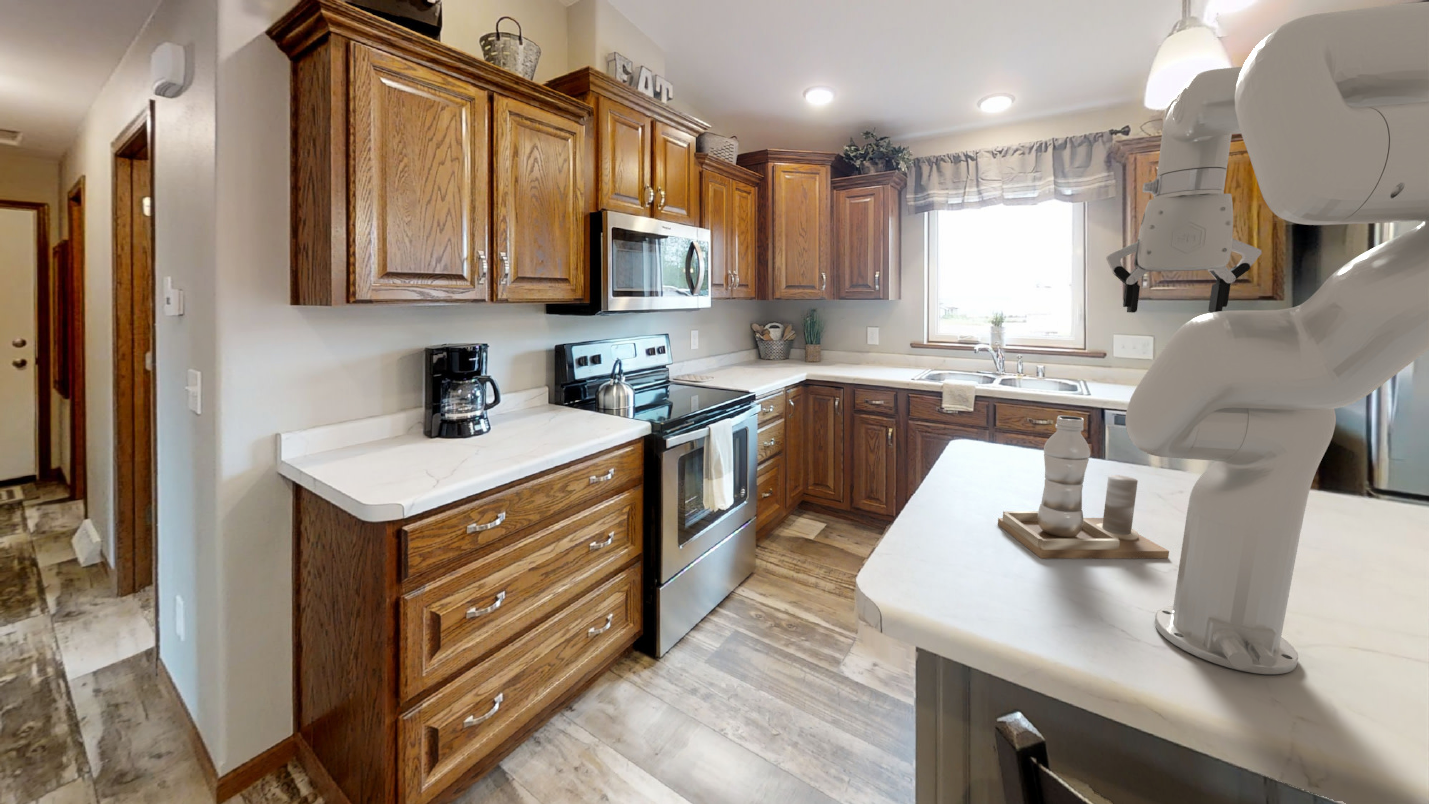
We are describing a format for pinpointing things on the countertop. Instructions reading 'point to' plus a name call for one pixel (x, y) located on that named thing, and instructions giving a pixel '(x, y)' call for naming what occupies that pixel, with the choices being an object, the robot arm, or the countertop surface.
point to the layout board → (1089, 530)
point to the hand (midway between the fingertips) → (1172, 312)
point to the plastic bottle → (1064, 478)
